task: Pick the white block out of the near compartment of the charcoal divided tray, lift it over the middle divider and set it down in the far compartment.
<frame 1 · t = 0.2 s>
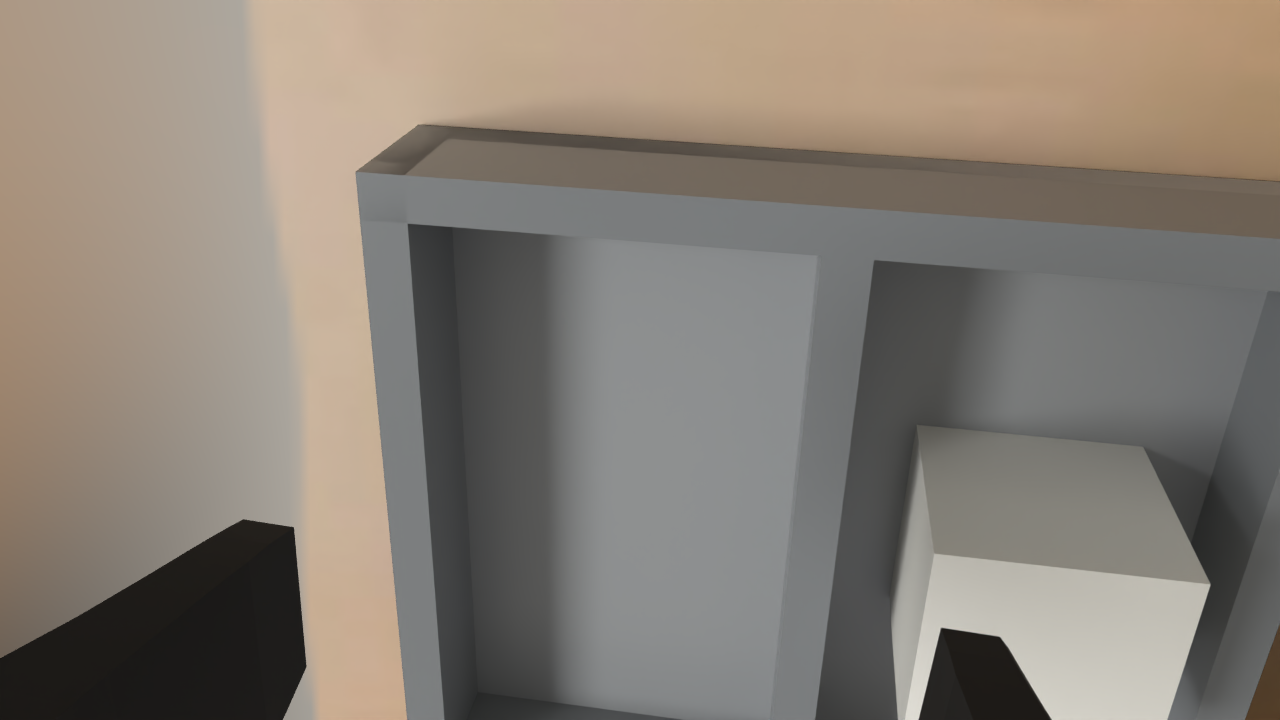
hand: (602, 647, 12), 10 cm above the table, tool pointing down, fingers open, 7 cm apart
divided tray: (813, 483, 22), on the table
white block: (1009, 526, 21), point 1 cm above the table, touching divided tray
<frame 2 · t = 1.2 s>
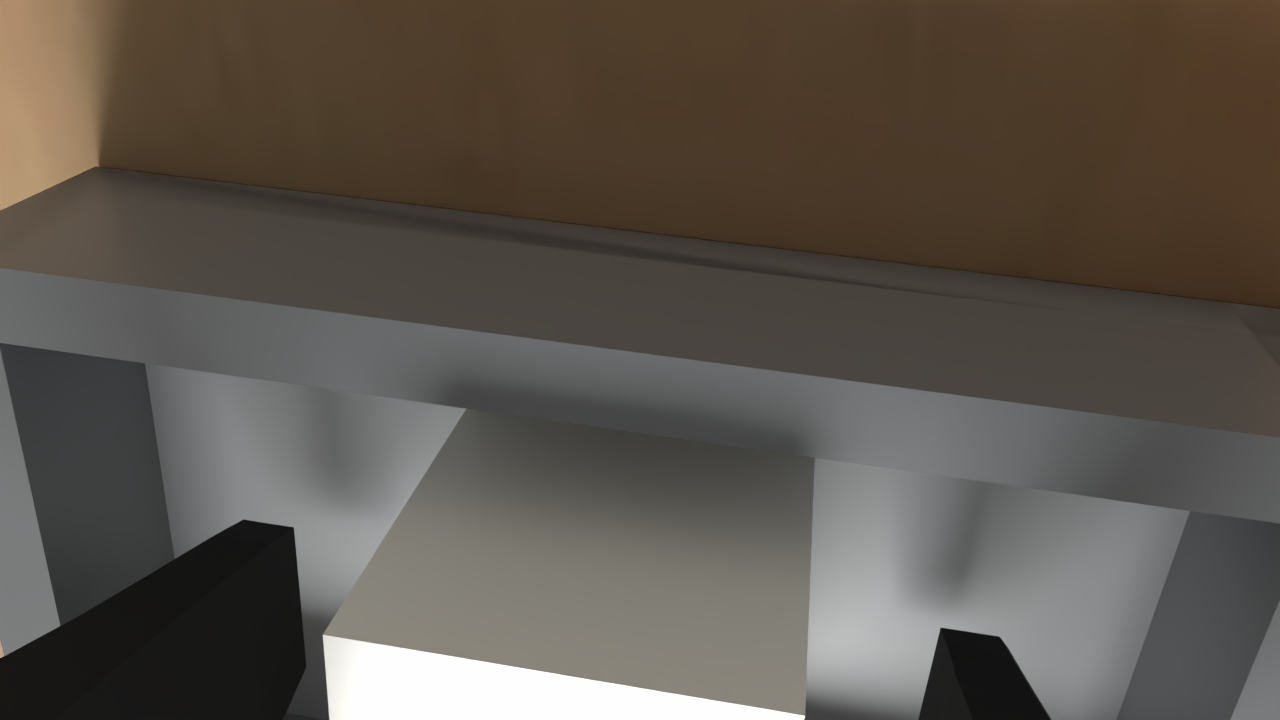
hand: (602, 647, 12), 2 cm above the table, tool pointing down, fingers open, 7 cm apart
white block: (626, 573, 13), point 1 cm above the table, touching divided tray
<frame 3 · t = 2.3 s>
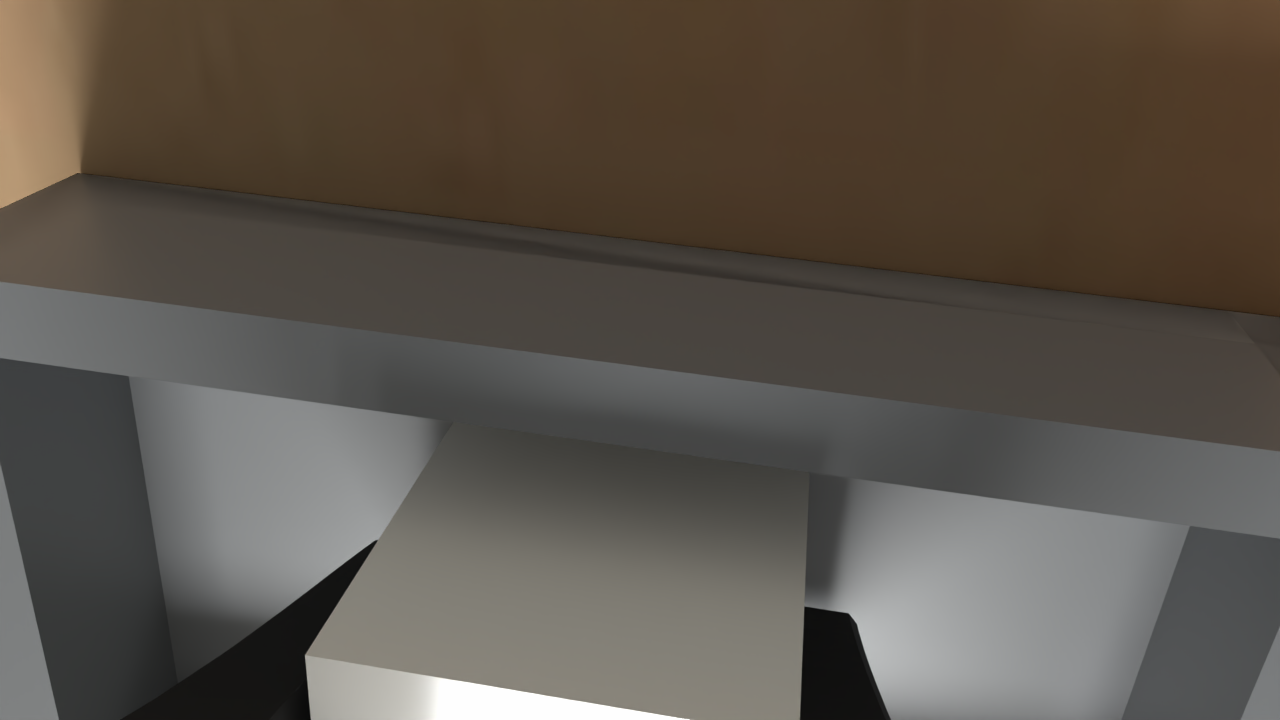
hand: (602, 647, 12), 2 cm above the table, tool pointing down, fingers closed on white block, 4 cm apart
white block: (619, 585, 13), point 1 cm above the table, touching divided tray, gripper
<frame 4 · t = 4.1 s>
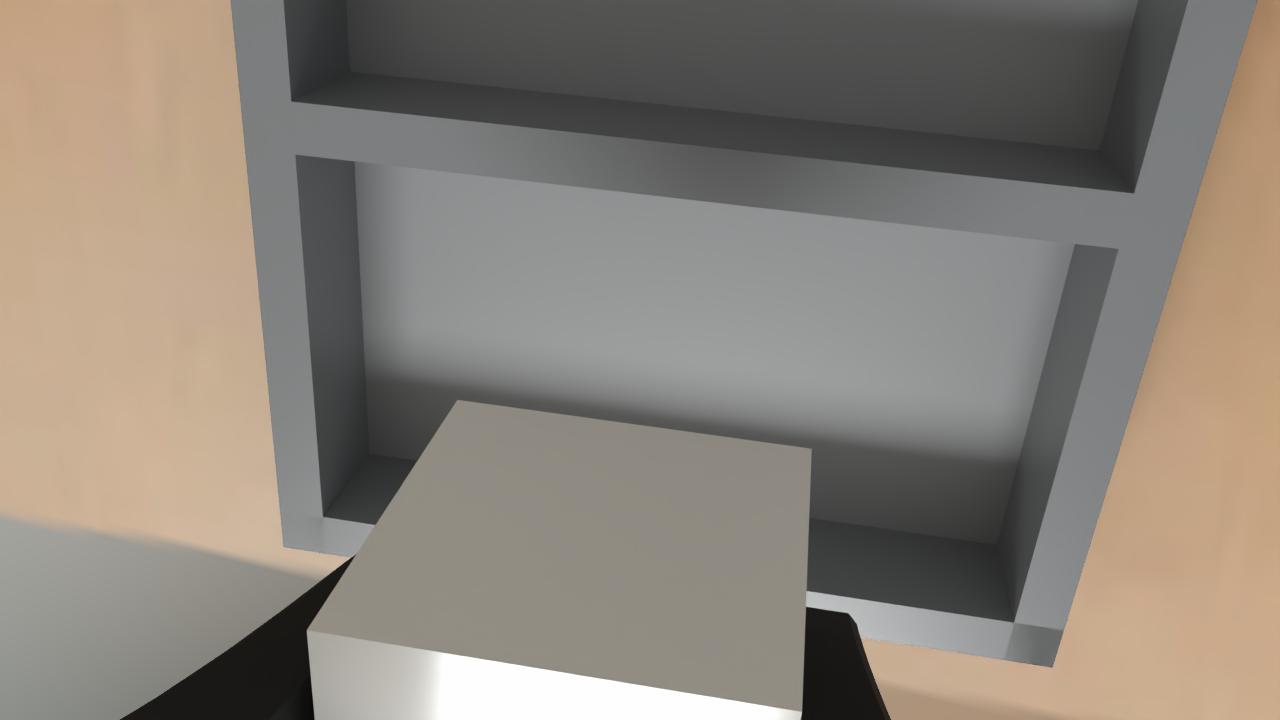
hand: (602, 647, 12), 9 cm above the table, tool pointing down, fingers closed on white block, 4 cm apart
divided tray: (712, 122, 18), on the table
white block: (620, 568, 13), point 8 cm above the table, touching gripper
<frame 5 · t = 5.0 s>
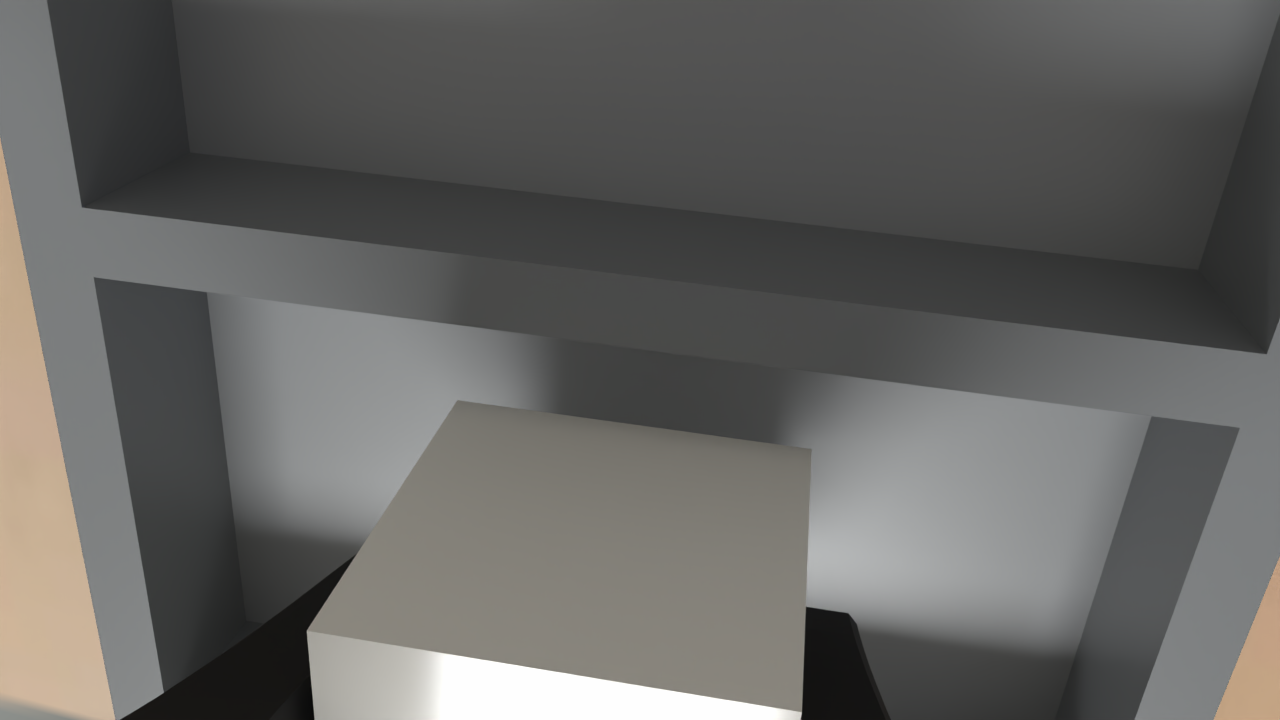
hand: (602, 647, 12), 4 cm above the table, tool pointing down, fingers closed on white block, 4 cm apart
divided tray: (674, 218, 14), on the table
white block: (620, 569, 13), point 3 cm above the table, touching gripper
when the fingers open (4 cm above the table, at t = 5.8 s): white block drops 2 cm, resting on divided tray.
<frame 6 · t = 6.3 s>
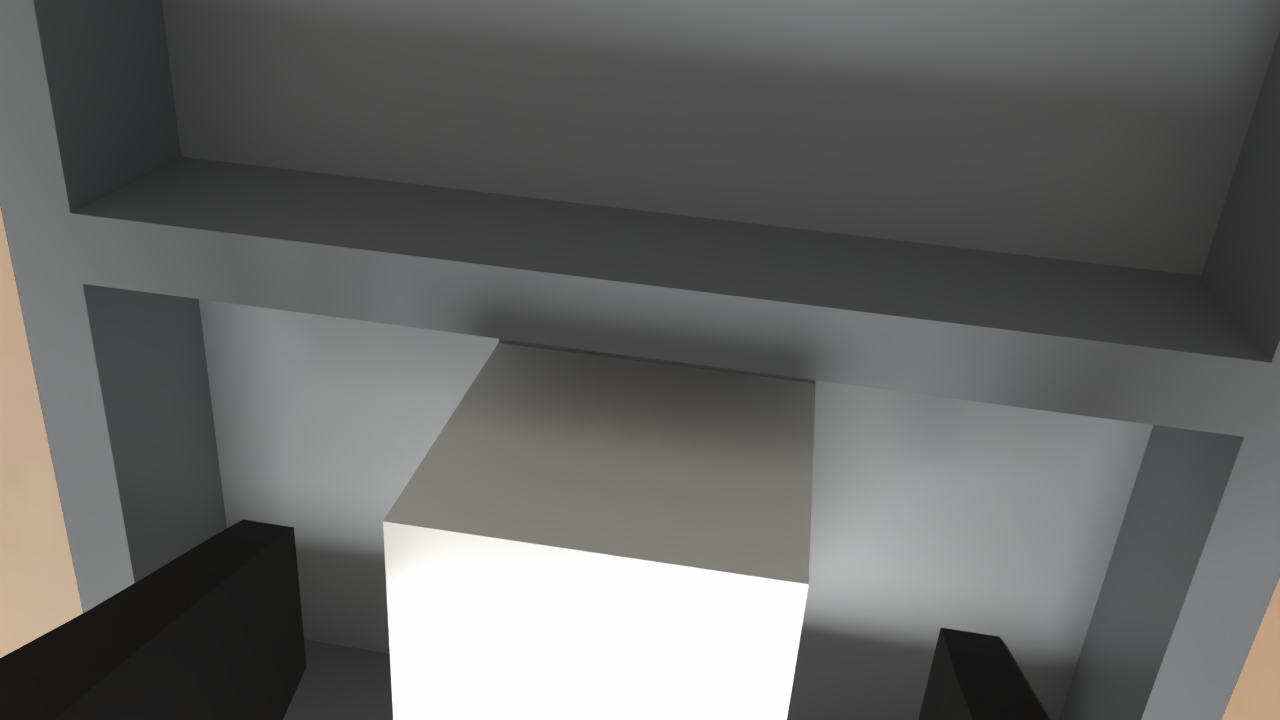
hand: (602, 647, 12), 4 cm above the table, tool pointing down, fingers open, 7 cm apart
divided tray: (670, 223, 14), on the table
white block: (644, 497, 15), point 1 cm above the table, touching divided tray
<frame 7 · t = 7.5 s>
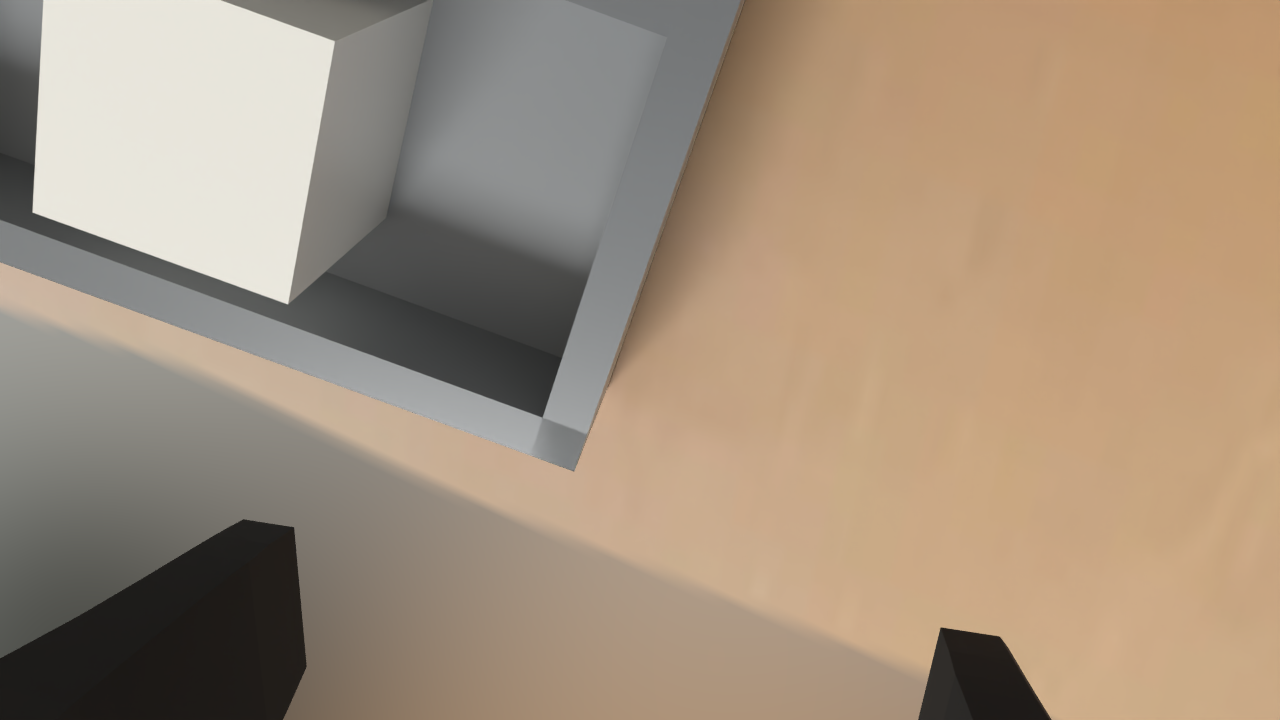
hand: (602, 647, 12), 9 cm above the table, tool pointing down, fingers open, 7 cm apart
white block: (298, 73, 19), point 1 cm above the table, touching divided tray
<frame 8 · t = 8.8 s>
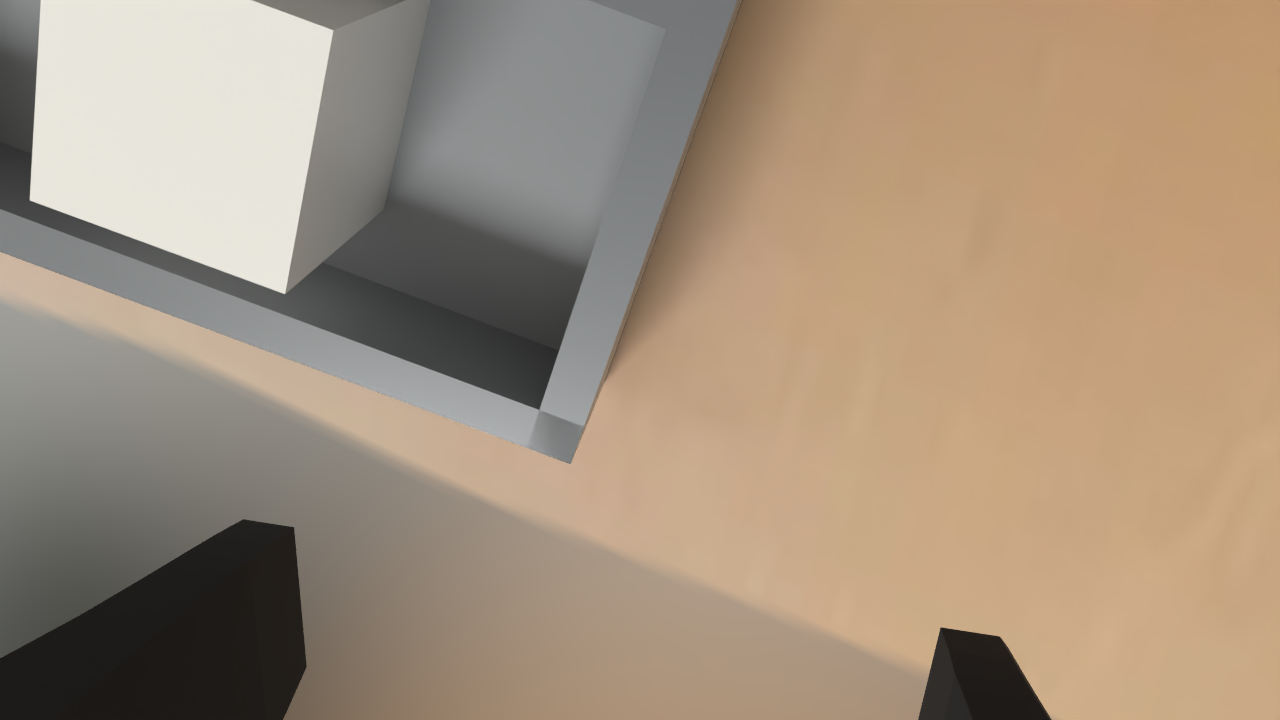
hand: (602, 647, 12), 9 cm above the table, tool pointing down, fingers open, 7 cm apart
white block: (297, 64, 19), point 1 cm above the table, touching divided tray
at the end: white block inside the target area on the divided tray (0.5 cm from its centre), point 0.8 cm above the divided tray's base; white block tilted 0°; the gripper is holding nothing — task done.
